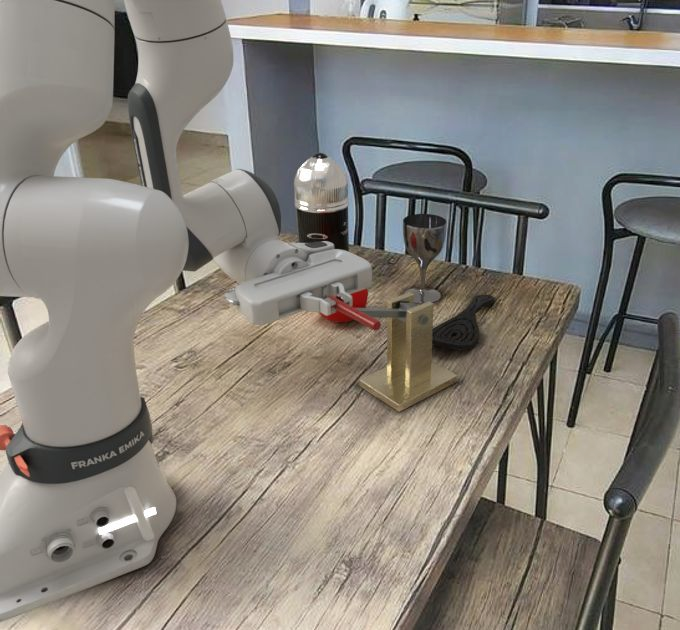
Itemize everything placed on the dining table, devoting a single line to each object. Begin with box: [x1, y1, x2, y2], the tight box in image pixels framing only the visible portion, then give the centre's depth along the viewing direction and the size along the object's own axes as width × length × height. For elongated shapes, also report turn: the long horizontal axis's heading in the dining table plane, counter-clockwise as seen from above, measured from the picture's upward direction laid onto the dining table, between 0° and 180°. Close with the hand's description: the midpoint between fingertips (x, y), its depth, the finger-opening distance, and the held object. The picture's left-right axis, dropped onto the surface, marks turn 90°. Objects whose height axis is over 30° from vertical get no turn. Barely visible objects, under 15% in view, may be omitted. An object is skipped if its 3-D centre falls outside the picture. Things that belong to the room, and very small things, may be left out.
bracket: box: [358, 292, 459, 413], centre depth 100 cm, size 12×9×14 cm
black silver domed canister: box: [293, 152, 350, 252], centre depth 131 cm, size 10×10×25 cm
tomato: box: [318, 288, 369, 323], centre depth 120 cm, size 9×10×8 cm
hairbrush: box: [432, 294, 495, 351], centre depth 119 cm, size 8×4×25 cm
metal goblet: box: [402, 213, 447, 305], centre depth 127 cm, size 8×8×15 cm
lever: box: [327, 296, 419, 332], centre depth 93 cm, size 13×10×2 cm
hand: (340, 306), depth 91 cm, fingers closed on lever
